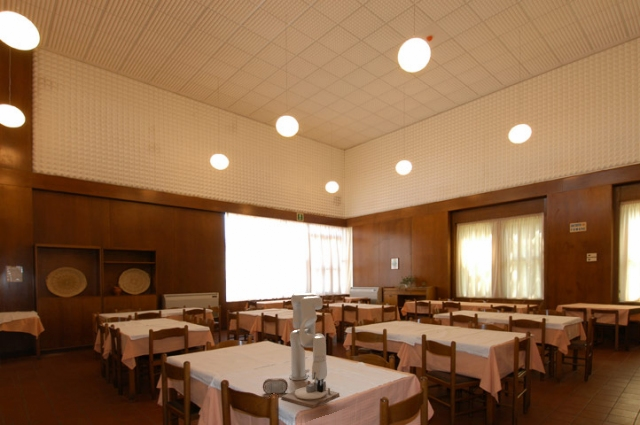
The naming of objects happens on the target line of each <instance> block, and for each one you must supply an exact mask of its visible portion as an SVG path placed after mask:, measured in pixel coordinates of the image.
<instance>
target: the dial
mask: <svg viewBox="0 0 640 425" xmlns="http://www.w3.org/2000/svg"><path fill="white" fill-rule="evenodd" d="M326 383H327V382H326V381H325V380H324V384H323V392H322V393H321V392H317V383H314V382H313V384H311V383H310V384H309V385H308V384H306V385H305V386H303V387H300V388H297V389H295V390H294V391H295V396H296V397H297V398H300V399H307V400H311V399H319V398H322V397H324V396H325V395H326V390H327V386H326V385H327V384H326Z"/></svg>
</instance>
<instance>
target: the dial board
mask: <svg viewBox="0 0 640 425" xmlns="http://www.w3.org/2000/svg"><path fill="white" fill-rule="evenodd" d="M309 384H311V380H307V385H309ZM327 388H328V389H326V395H325V396H324V397H322V398H319V399H311V400H307V399H300V398H297V397H296V396H295V391H296V390H294V391H292V392H289V393H286V394H284V395H281V398H280V399H281V400H282V401H283V400H284V401H286V402H289V403H294V404H297V405H301V406H303V407H307V408H312V409H315V408H316V407H318V406H321V405H323V404H325V403H327V402H329V401H331V400H333V399H335V398H337V397H339V396H340V392H337V391H333V390H331V387H327Z"/></svg>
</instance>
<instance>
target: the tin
mask: <svg viewBox="0 0 640 425" xmlns="http://www.w3.org/2000/svg"><path fill="white" fill-rule="evenodd" d="M288 384H289V383H288V381H287V380H286V379H284V378H266V379H265V380H264V381H263V384H262V390H263V392H264V393H265V394H267V395H272V394H271V393H277V394H276V395H281V394H285V393H286V392H287V390H288V387H289V385H288Z"/></svg>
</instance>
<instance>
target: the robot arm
mask: <svg viewBox="0 0 640 425" xmlns="http://www.w3.org/2000/svg"><path fill="white" fill-rule="evenodd" d="M290 301H291V306H292V327H293V329H295V330H292V331H291V332H290V333H289V341H290V352H291V354H290V356H291V357H290V358H291V359H290V361H291V363H290V364H291V365H290V366H291V367H290V368H291V370H290V371H291V374H290V375H289V379H290V380H292V381H303V380H307V379H308V377H309V376H308V374H307V373H310V372H311V380H312V381H313V380H314V381H313V384H314V383H317V392H321V393H322V392H323V384H324V381H325V380H326V377H327V376H328V367H327V344H326V343H327V342H326V340H327V339H326V337H325V336H324V334H323V333H320V332H318V333H316V321H317V319H318V315H317V312H316V310H321V309H322V308H323V304H324V303H323V300H322V297H321V296H320V295H319V294H317V293H315V292H307V293H306V292H304V293H303V292H302V293H301V292H299V293H293V294H292V295H291V298H290ZM305 348H312V364H311V370H310V369H309V368H308V369H306V351H305Z"/></svg>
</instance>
